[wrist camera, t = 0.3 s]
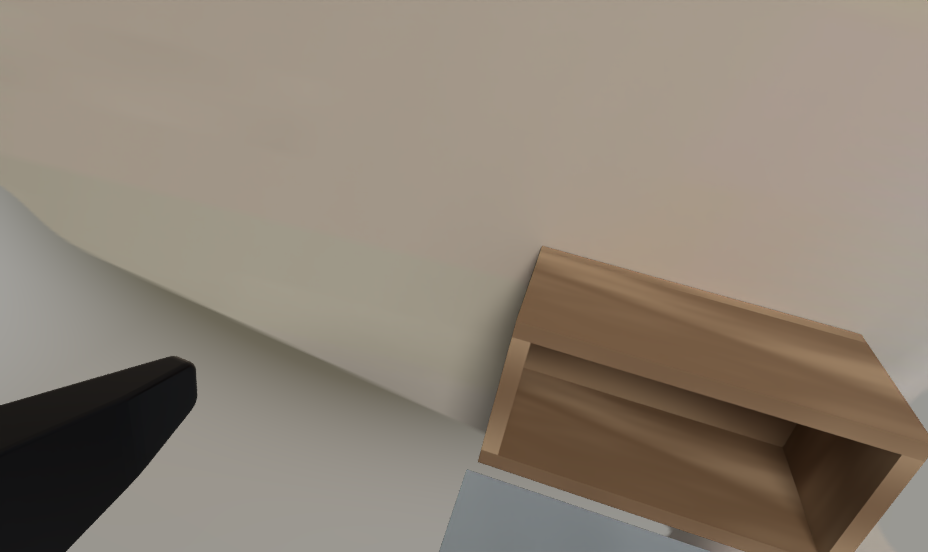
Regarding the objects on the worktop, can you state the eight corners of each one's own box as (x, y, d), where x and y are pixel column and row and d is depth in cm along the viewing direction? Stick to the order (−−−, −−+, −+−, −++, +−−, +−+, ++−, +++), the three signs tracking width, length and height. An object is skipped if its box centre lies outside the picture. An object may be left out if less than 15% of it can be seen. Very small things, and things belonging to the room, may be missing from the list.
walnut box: (788, 452, 24) (831, 580, 19) (508, 366, 26) (477, 461, 20) (861, 334, 21) (936, 446, 16) (542, 245, 23) (516, 321, 18)
